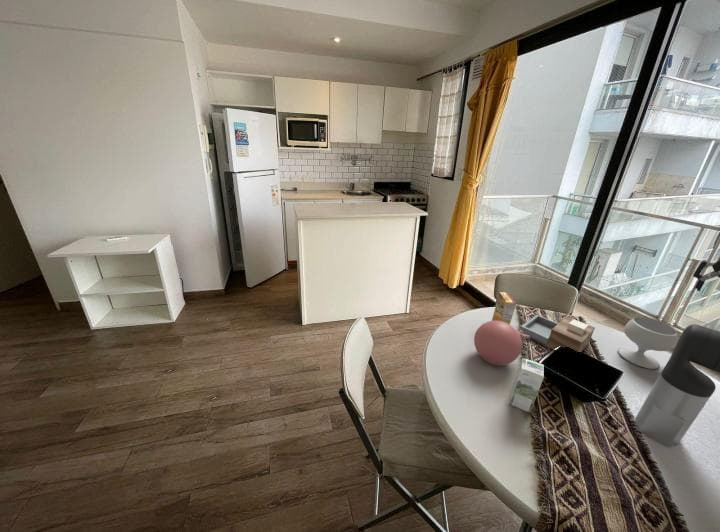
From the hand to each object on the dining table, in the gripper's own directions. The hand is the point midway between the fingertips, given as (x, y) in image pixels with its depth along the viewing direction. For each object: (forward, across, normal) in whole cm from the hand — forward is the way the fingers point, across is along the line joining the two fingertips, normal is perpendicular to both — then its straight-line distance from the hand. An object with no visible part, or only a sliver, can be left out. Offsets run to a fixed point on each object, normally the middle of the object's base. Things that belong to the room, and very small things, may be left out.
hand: (716, 295), depth 97 cm
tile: (+21, -28, -22) cm, 42 cm away
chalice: (+30, -10, -8) cm, 32 cm away
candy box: (+30, -52, -33) cm, 68 cm away
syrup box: (+30, -28, -67) cm, 78 cm away
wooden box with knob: (+29, -29, -22) cm, 47 cm away
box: (+29, -40, -22) cm, 54 cm away
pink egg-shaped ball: (+30, -42, -53) cm, 74 cm away
